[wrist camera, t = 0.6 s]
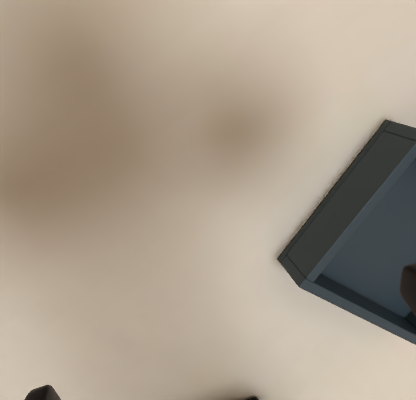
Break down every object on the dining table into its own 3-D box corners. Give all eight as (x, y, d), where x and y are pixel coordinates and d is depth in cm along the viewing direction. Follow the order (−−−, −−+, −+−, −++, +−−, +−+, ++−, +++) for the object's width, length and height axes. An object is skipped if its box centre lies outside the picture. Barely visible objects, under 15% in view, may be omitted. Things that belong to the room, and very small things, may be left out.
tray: (399, 323, 34) (428, 351, 30) (277, 259, 27) (298, 287, 24) (495, 219, 31) (537, 239, 28) (386, 119, 24) (426, 130, 21)
